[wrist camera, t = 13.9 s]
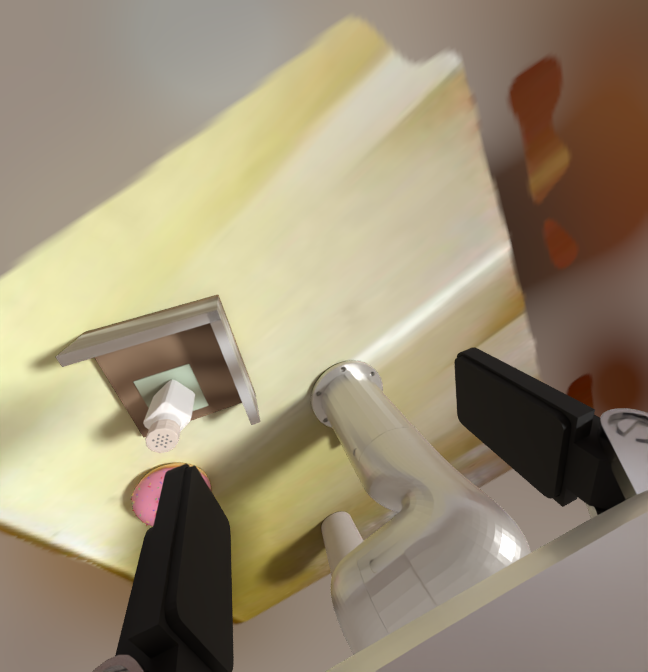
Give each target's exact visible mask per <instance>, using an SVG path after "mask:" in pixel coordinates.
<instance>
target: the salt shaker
mask: <svg viewBox="0 0 648 672" xmlns="http://www.w3.org/2000/svg"><path fill="white" fill-rule="evenodd" d="M194 399H195V394H194V392H193V391H191V390H190V389H188V388H187V387H185V386H184V385H182V384H181V383H179V382H178V381H176V380H173V379H172V380H170V381H168V382H167V383H166V384H165V385H164V386H163V387H162V388H161V389H160V390H159V391H158V392H157V393H156V394H155V395H154V396H153V399H152V401H151V404H150V407H149V409H148V412H147V414H146V417H145V419H144V422H143V424H144V426H145V427H146V428H147V429H149V431H148V433H147V436H146V439H145V440H146V446H147V447H148V448H149V449H150V450H151V451H154V452H159V453H162V452H168V451H170V450H172V449H173V448H175V447H176V445H177V443H178V441H179V437H180V432H181V430H182V429H183V428H184V427H185V426H186V425H187V424H188V423H189V422H190V420H191V417H192V411H193V405H194Z"/></svg>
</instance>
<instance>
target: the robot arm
mask: <svg viewBox="0 0 648 672" xmlns="http://www.w3.org/2000/svg"><path fill="white" fill-rule="evenodd" d="M455 380H456V398H457V415H458V419H459V421H460V422H461V423H462V425H463V426H465V427H466V428H467V429H468V430H469V431H470V432H472V433H473V434H474V435H475V436H476V437H477V438H478V439H480V440H481V441H482V442H483V443H484V444H485V445H486V446H488V447H489V448H490V449H491V450H492V451H493V452H495V453H496V454H497V455H498V456H499V457H500V458H501V459H503V460H504V461H505V462H506V463H507V464H508V465H509V466H511V467H512V468H513V469H514V470H515V471H516V472H518V473H519V474H520V475H521V476H522V477H523V478H524V479H526V480H527V481H528V482H529V483H530V484H531V485H532V486H534V487H535V488H536V489H537V490H538V491H539V492H541V493H542V494H543V495H544V496H546V497H547V498H553V499H554V500H555V501H557V502H558V503H559V504H560V505H561V506H562V507H563V506H565V505H567V504H569V503H571V502H572V501H574V500H576V499H577V497H579V498H580V499H581V500H583V501H584V502H585V503H586V505H587V507H588V511H589V514H590V517H591V519H590V520H588V521H586V522H584V523H583V524H581V525H579V526H577V527H576V528H574V529H572V530H570V531H569V532H567V533H565V534H563V535H562V536H560V537H558V538H556V539H554V540H553V541H551V542H549V543H547V544H546V545H544V546H542V547H540V548H539V549H537V550H535V551H533V552H532V553H531V551H530V547H529V544H528V542H527V540H526V538H525V536H524V534H523V532H522V531H521V529H520V528H519V526H518V525H517V524H516V522H515V521H514V520H513V519H512V518H511V517H510V516H509V515H508V514H507V512H506V511H505V510H504V509H503V508H502V507H500V505H498V504H497V503H496V502H495V501H494V500H493V499H492V498H491V497H489V496H488V495H487V494H486V493H484V492H483V491H482V490H481V489H479V488H478V487H477V486H475V485H474V484H473V483H472V482H470V481H469V480H468V479H467V478H466V477H464V476H463V475H462V474H461V473H460V472H458V471H457V470H456V469H455V468H454V467H453V466H452V465H451V464H450V463H448V462H447V461H446V460H445V459H444V458H443V457H442V456H441V455H440V454H439V453H438V452H437V451H436V449H435V448H434V447H433V446H432V445H431V444H430V443H429V442H428V441H427V440H426V439H425V438H424V437H423V435H422V434H421V433H420V432H419V431H418V430H417V429H416V428H415V427H414V426H413V424H412V423H411V422H410V421H409V420H408V419H407V418H406V417H405V416H404V415H403V413H402V412H401V411H400V410H399V409H398V408H397V407H396V406H395V405H394V404H393V403H392V401H391V400H390V399H389V398H388V397H387V396H386V395H385V394H384V393H383V384H382V380H381V377H380V375H379V374H378V372H377V371H376V370H375V369H374V368H373V367H372V366H370V365H369V364H367V363H365V362H361V361H353V360H352V361H345V362H341V363H338V364H336V365H334V366H332V367H331V368H329V369H328V370H327V371H325V372H324V373H323V374H322V375H321V376H320V378H319V379H318V380H317V382H316V384H315V386H314V388H313V391H312V395H311V405H312V409H313V411H314V414H315V415H316V417H317V419H318V420H319V421H320V422H321V423H323V424H324V425H326V426H329V427H331V428H333V430H334V432H335V434H336V436H337V437H338V439H339V441H340V443H341V445H342V447H343V449H344V451H345V453H346V455H347V457H348V459H349V461H350V463H351V465H352V466H353V468H354V470H355V472H356V474H357V476H358V478H359V480H360V482H361V484H362V486H363V487H364V489H365V491H366V492H367V493H368V494H369V496H370V497H371V498H372V499H374V500H375V501H376V502H377V503H379V504H380V505H382V506H384V507H386V508H388V509H390V510H392V511H395V512H397V514H396V515H395V516H394V517H393V518H392V519H391V520H390V521H389V522H388V523H386V524H385V525H384V526H382V527H381V528H380V529H379V530H377V531H376V532H375V533H373V534H372V535H371V536H369V537H368V538H367V539H366V540H364V541H363V542H362V543H360V544H359V545H358V546H357V547H356V548H354V549H353V550H352V551H351V552H350V553H348V554H347V555H346V556H345V557H344V558H343V559H342V560H341V561H340V562H339V564H338V565H337V567H336V568H335V570H334V573H333V576H332V580H331V598H332V603H333V608H334V611H335V614H336V617H337V620H338V623H339V625H340V628H341V630H342V632H343V635H344V637H345V639H346V641H347V643H348V645H349V647H350V649H351V651H352V653H353V656H351V657H350V658H348V659H346V660H344V661H343V662H341V663H339V664H338V665H336V666H334V667H332V668H331V669H329V670H327V671H326V672H648V413H646V412H642V411H638V410H633V409H613V410H608V411H606V412H605V413H603V414H602V416H601V418H599V417H598V416H596V415H594V411H595V409H593V408H591V407H589V406H587V405H585V404H583V403H581V402H579V401H577V400H576V399H574V398H572V397H570V396H568V395H566V394H564V393H562V392H560V391H558V390H556V389H554V388H552V387H550V386H549V385H547V384H545V383H543V382H541V381H539V380H537V379H535V378H533V377H531V376H529V375H527V374H525V373H524V372H522V371H520V370H518V369H516V368H514V367H512V366H510V365H508V364H506V363H504V362H502V361H500V360H499V359H497V358H495V357H493V356H491V355H489V354H487V353H485V352H483V351H481V350H479V349H477V348H470V349H468V350H465V351H463V352H460V353H459V354H458V355H457V358H456V359H455ZM232 670H233V620H232V578H231V535H230V525H229V521H228V519H227V517H226V515H225V514H224V512H223V510H222V509H221V507H220V505H219V504H218V502H217V500H216V499H215V497H214V495H213V494H212V492H211V490H210V489H209V487H208V485H207V484H206V482H205V480H204V479H203V477H202V475H201V474H200V472H199V470H198V469H197V467H196V466H191V467H190V466H189V465H188V464H183V465H181V466H178V467H176V468H173V469H171V470H169V471H167V472H166V473H165V476H164V481H163V485H162V490H161V494H160V499H159V503H158V507H157V512H156V516H155V521H154V525H153V527H152V528H150V529H149V530H148V531H147V532H146V535H145V537H144V541H143V545H142V549H141V553H140V557H139V561H138V565H137V570H136V574H135V578H134V582H133V586H132V590H131V595H130V598H129V602H128V606H127V610H126V615H125V619H124V623H123V627H122V631H121V635H120V639H119V643H118V647H117V651H116V655H115V657H113V658H110V659H108V660H106V661H105V662H104V663H102V664H101V665H100V666H98V667H97V668H96V669H95V670H94V671H93V672H232Z"/></svg>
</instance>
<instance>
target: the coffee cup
mask: <svg viewBox="0 0 648 672" xmlns="http://www.w3.org/2000/svg"><path fill="white" fill-rule="evenodd" d="M321 530H322V535H323V539H324V544H325V548H326V553H327V557H328V562H329V566H330V571H331V576H333V573H334V570H335V568H336V567H337V565H338V564H339V562H340V561H341V560H342V559H343V558H344V557H345V556H346V555H347V554H348V553H350V552H351V551H352V550H353V549H354V548H356V547H357V546H358V545H359V544H360V543H362V542H363V539H362V537H361V535H360V533H359V532H358V530H357V528H356V526H355V524H354V522H353V520H352V518H351V516H350V515H349V514H348V513H346V512H336V513H333V514H331V515H330V516H328V517H327V518H326V519H325V520H324V522H323V523H322V526H321Z"/></svg>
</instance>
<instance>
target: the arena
mask: <svg viewBox="0 0 648 672" xmlns="http://www.w3.org/2000/svg"><path fill="white" fill-rule="evenodd" d="M91 358H95V359H96V361H97V362H98V364H99V366H100V367H101V369H102V371H103V372H104V374H105V375H106V377H107V379H108V380H109V382H110V384H111V385H112V387H113V388H114V390H115V392H116V393H117V395H118V397H119V398H120V400H121V401H122V403H123V405H124V406H125V408H126V410H127V411H128V413H129V414H130V416H131V418H132V419H133V421H134V423H135V424H136V426H137V427H138V429H139V431H140V432H141V434H142V436H143V437H146V436H147V433H148V431H149V429H147V428H146V427H145V426H144V424H143V422H144V419H145V417H146V414H147V412H148V409H149V407H150V404H151V401H152V399H153V396H154V395H155V394H156V393H157V392H158V391H159V390H160V389H161V388H162V387H163V386H164V385H165V384H166V383H167V382H168V381H170V380H172V379H173V380H176V381H178V382H179V383H181V384H182V385H184V386H185V387H187V388H188V389H190V390H191V391H193V392H194V394H195V399H194V405H193V411H192V417H191V420H194V419H197V418H200V417H203V416H205V415H208V414H211V413H214V412H217V411H219V410H222V409H225V408H228V407H231V406H234V405H236V404H239V403H243V406H244V408H245V410H246V413H247V415H248V418H249V420H250V423H251V425H253V424H256V423H259V422H260V417H259V411H258V406H257V400H256V395H255V391H254V389H253V386H252V383H251V381H250V378H249V375H248V373H247V370H246V367H245V365H244V362H243V359H242V357H241V354H240V351H239V349H238V346H237V343H236V341H235V338H234V335H233V333H232V330H231V327H230V325H229V322H228V319H227V317H226V314H225V311H224V309H223V306H222V303H221V301H220V298H219V295H215V296H211V297H208V298H204V299H201V300H197V301H193V302H190V303H186V304H183V305H179V306H176V307H172V308H169V309H165V310H161V311H158V312H154V313H151V314H147V315H144V316H140V317H137V318H133V319H129V320H126V321H122V322H119V323H115V324H112V325H108V326H105V327H101V328H97V329H94V330H90V331H87V332H84V333H83V334H82V335H81V336H80V337H78V338H77V339H76V340H75V341H74V342H72V343H71V344H70V345H69V346H68V347H66V348H65V349H64V350H63V351H62V352H60V353H59V354H58V355H57V356H56V359H57V360H58V362H59V363H60V364H61V366H62V367H64V366H67V365H70V364H74V363H77V362H80V361H84V360H87V359H91ZM191 420H190V421H191Z"/></svg>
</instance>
